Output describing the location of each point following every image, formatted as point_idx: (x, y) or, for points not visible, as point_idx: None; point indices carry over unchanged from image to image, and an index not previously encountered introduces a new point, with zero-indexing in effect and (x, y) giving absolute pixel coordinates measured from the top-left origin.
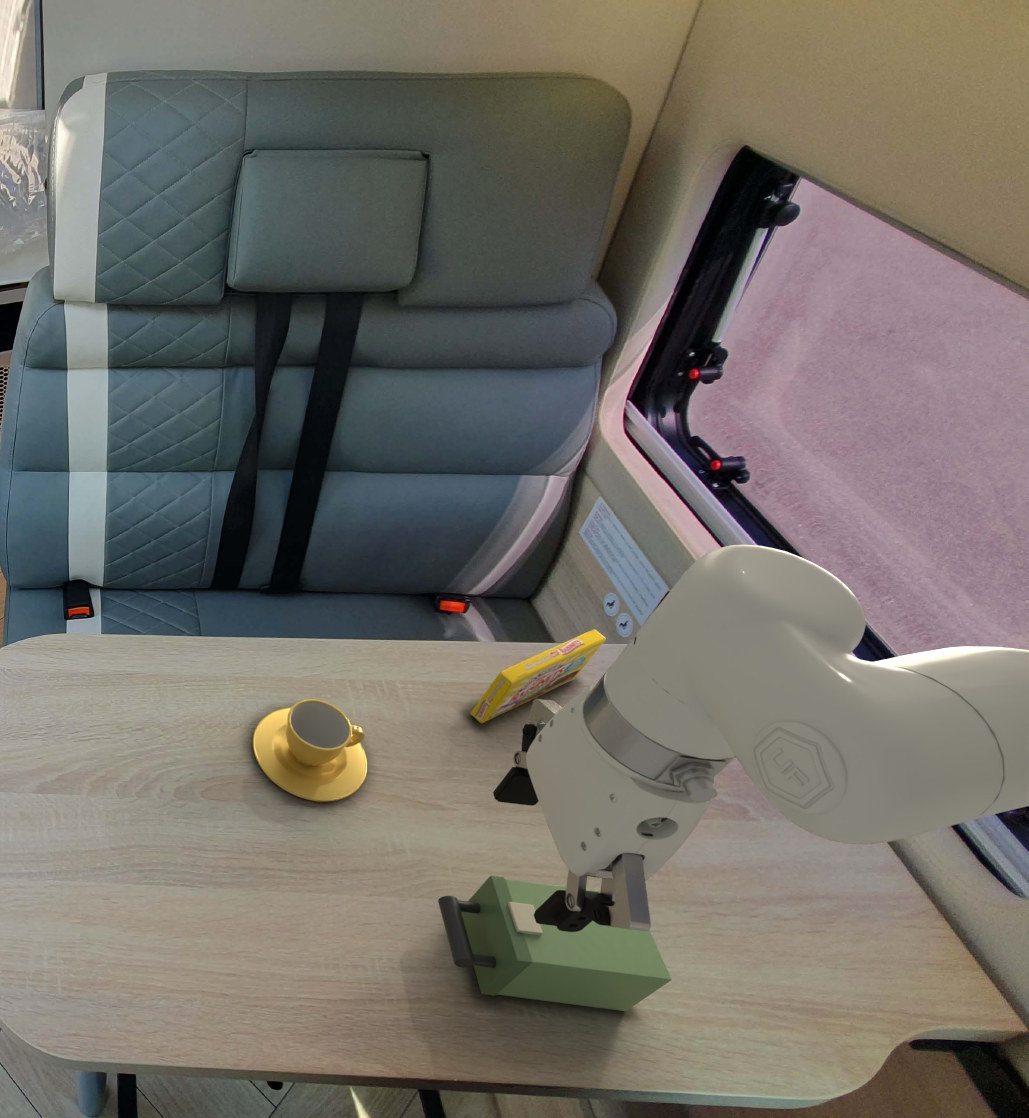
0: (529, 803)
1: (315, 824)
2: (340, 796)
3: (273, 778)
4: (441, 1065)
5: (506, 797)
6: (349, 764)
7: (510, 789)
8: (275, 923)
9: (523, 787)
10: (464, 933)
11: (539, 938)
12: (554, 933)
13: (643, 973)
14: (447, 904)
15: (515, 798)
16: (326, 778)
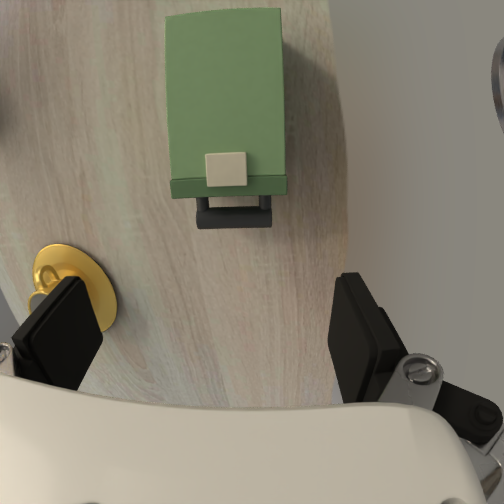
0: (83, 291)
1: (137, 295)
2: (102, 274)
3: (108, 325)
4: (344, 226)
5: (93, 340)
6: (69, 261)
7: (84, 364)
8: (240, 335)
9: (71, 358)
10: (240, 216)
11: (251, 155)
12: (240, 132)
13: (278, 36)
14: (207, 226)
15: (88, 328)
16: (90, 282)
